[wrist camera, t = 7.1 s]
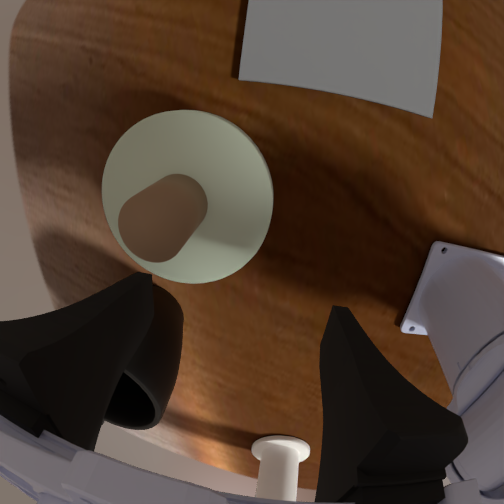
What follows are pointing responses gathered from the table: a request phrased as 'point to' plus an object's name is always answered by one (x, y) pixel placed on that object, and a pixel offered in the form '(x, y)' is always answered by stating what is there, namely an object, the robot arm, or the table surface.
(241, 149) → the lid
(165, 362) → the mug
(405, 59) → the mat
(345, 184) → the table surface
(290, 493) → the candle
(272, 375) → the table surface
